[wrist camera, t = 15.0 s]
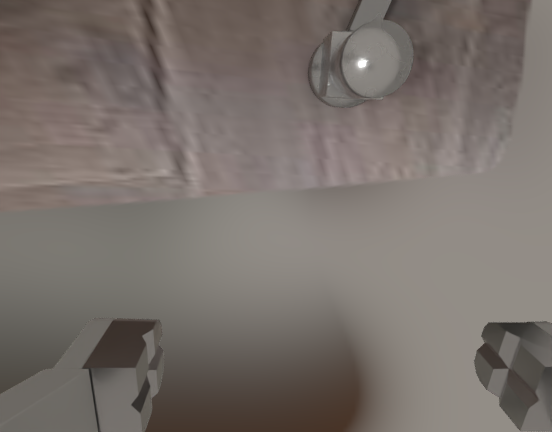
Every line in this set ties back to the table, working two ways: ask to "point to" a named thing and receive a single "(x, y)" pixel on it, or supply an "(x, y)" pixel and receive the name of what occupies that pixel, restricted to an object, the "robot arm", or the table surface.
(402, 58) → the cylinder on square base
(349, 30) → the ratchet
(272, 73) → the table surface
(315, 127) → the table surface
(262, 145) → the table surface
